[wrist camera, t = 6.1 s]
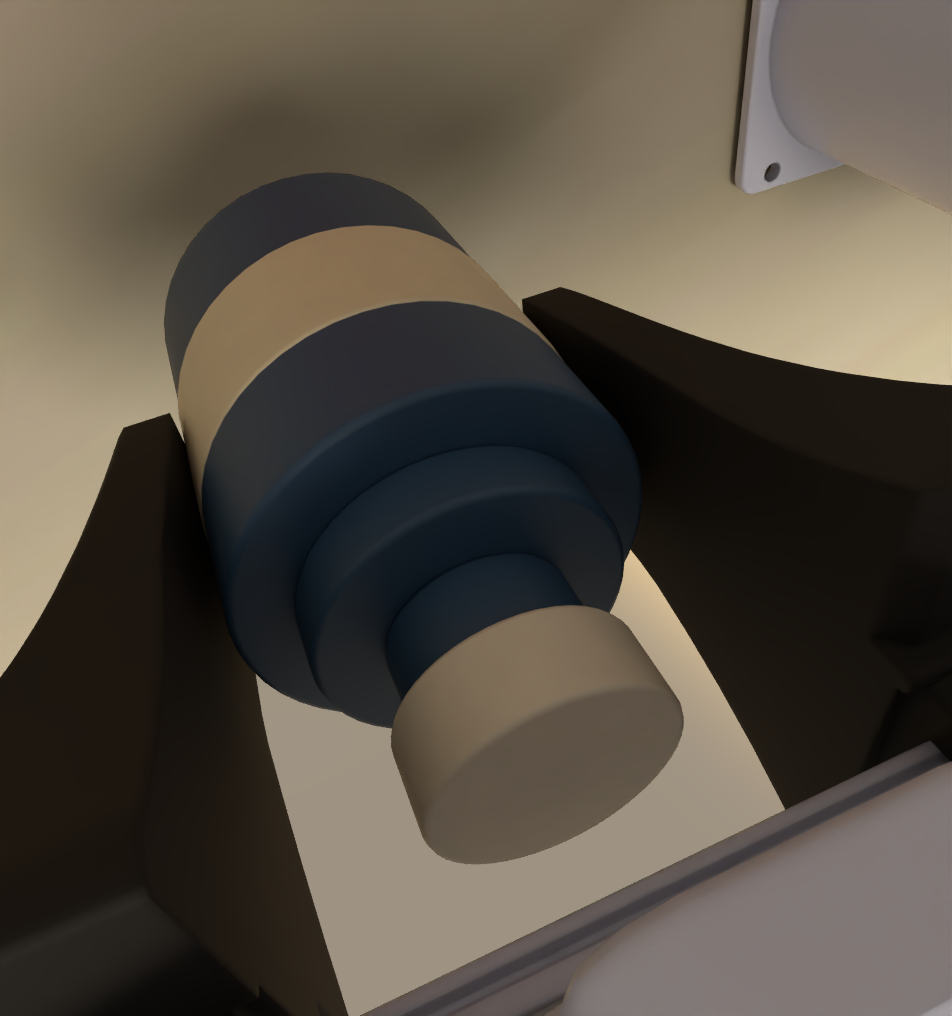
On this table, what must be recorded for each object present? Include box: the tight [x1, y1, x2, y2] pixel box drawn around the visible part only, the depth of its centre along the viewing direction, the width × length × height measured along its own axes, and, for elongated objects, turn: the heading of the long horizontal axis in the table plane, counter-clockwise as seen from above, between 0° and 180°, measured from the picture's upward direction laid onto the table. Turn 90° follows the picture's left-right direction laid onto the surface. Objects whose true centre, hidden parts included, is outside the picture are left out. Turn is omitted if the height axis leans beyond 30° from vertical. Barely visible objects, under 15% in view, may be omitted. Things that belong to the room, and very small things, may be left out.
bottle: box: [164, 173, 684, 864], centre depth 10 cm, size 5×5×9 cm
